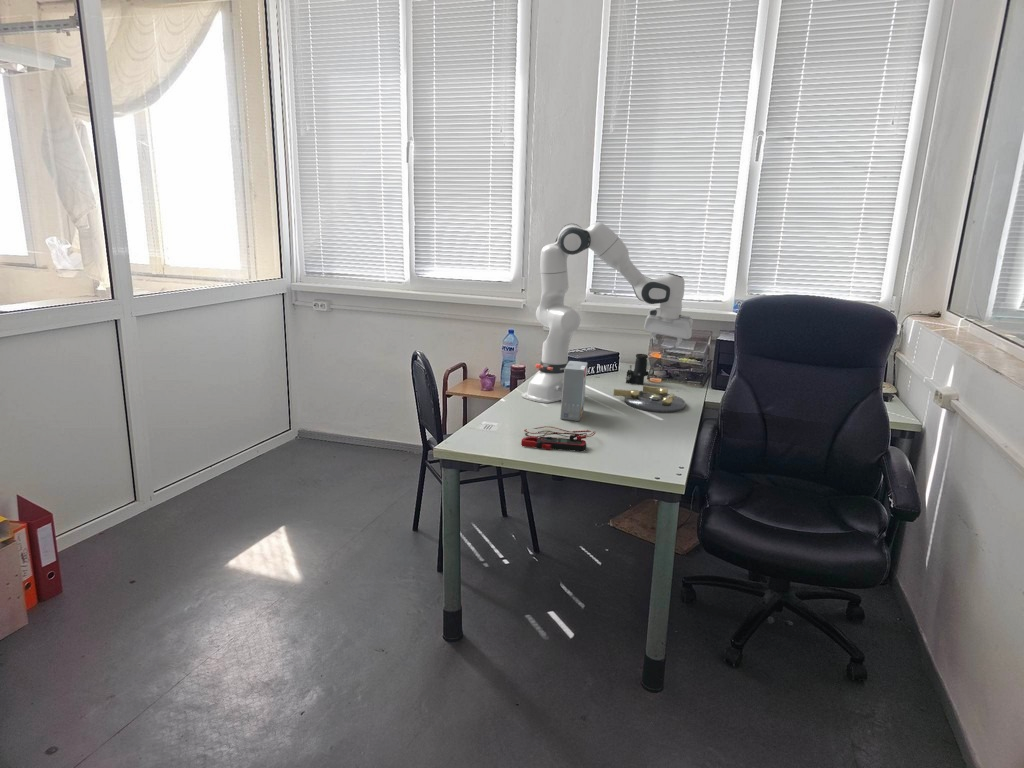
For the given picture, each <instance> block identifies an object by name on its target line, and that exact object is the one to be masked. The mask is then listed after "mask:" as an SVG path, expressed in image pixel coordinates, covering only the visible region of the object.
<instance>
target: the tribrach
mask: <svg viewBox="0 0 1024 768" xmlns="http://www.w3.org/2000/svg"><path fill="white" fill-rule="evenodd" d="M638 391H639V398H632V397H624V403H625V404H626V405H627V406H628V407H631V408H634V409H637V410H639V411H644V412H651V413H660V414H661V413H662V414H664V413H665V414H668V413H669V414H671V413H679V412H682V411H683V410H685V407H686V401H685V400H684V399H683V398H682V397H679V396H677V395H674V400H673V401H672V405H669V406H668V405H663V397H667V396H669V395H670V394H671V393H668V395H667V396H662V395H659V394H653V393H646V392H643V390H638Z"/></svg>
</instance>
